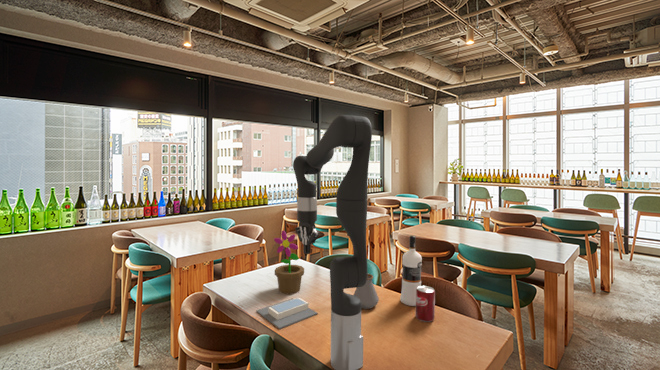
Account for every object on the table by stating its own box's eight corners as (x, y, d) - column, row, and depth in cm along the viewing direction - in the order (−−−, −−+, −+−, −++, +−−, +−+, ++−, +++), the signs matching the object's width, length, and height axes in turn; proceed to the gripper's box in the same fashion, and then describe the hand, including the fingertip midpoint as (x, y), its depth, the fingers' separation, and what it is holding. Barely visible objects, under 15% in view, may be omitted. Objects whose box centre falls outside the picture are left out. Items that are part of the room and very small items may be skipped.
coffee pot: (382, 303, 138) (383, 270, 137) (372, 313, 128) (372, 278, 127) (341, 292, 149) (341, 261, 148) (328, 301, 139) (328, 268, 138)
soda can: (421, 323, 120) (422, 293, 119) (411, 314, 127) (412, 286, 126) (438, 321, 122) (439, 291, 121) (427, 312, 129) (428, 284, 128)
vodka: (410, 296, 145) (411, 232, 143) (426, 303, 138) (428, 236, 136) (395, 300, 140) (397, 235, 138) (411, 308, 133) (413, 239, 130)
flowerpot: (269, 293, 147) (268, 231, 144) (282, 282, 160) (282, 225, 158) (297, 297, 142) (297, 233, 140) (308, 286, 156) (308, 227, 154)
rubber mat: (317, 314, 127) (317, 312, 127) (279, 329, 115) (279, 327, 115) (292, 299, 140) (292, 298, 140) (256, 311, 129) (256, 310, 129)
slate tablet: (277, 319, 121) (308, 308, 131) (277, 313, 121) (308, 302, 131) (268, 313, 126) (298, 302, 136) (268, 307, 126) (298, 297, 136)
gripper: (325, 209, 115) (325, 255, 116) (304, 206, 125) (304, 248, 126) (309, 211, 110) (309, 259, 112) (289, 207, 120) (289, 251, 122)
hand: (306, 253), depth 119 cm, fingers closed
